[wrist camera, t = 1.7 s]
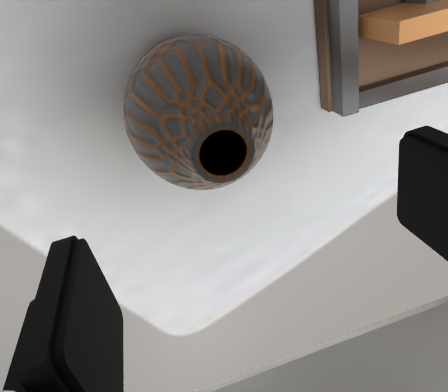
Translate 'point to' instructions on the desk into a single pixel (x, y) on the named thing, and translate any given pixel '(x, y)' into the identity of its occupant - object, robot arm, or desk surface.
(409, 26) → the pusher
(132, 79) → the vase
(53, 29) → the desk surface
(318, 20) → the tray
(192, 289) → the desk surface
